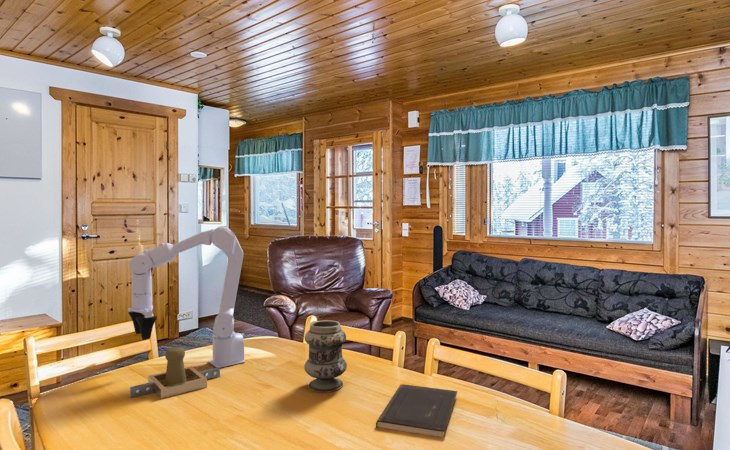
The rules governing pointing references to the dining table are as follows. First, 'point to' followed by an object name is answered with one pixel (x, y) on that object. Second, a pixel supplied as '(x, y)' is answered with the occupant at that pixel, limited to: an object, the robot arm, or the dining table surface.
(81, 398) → the dining table surface
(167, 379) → the cork
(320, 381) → the apothecary jar
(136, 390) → the square frame
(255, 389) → the dining table surface
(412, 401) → the hardcover book
